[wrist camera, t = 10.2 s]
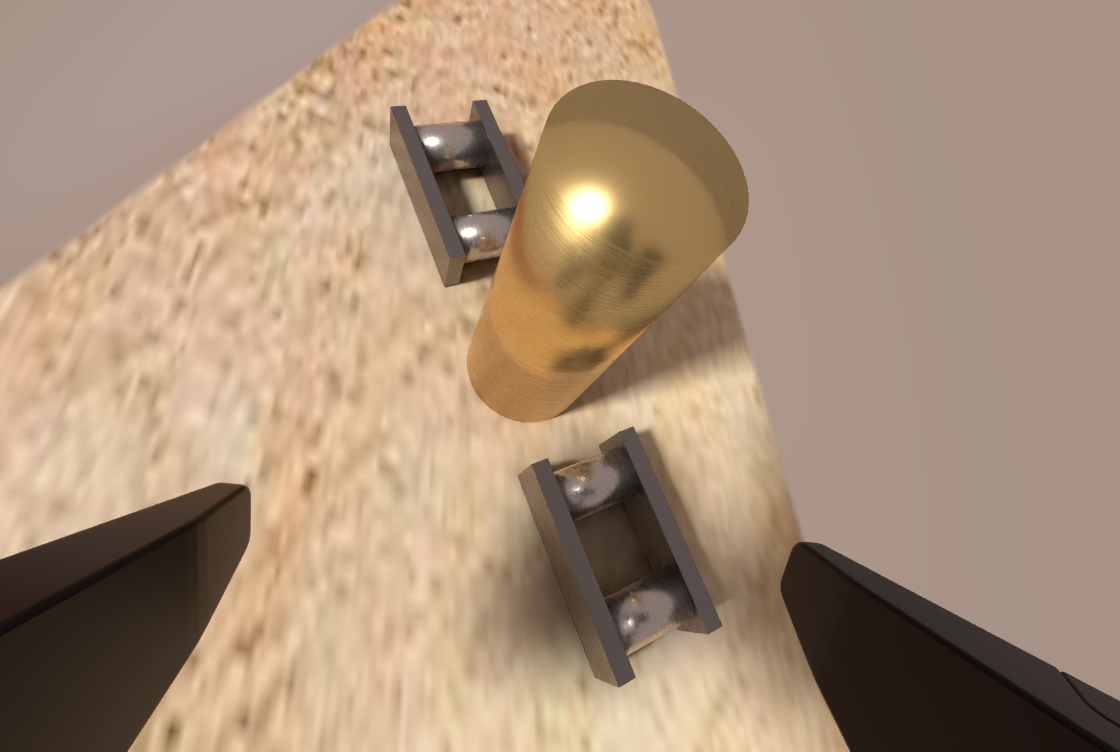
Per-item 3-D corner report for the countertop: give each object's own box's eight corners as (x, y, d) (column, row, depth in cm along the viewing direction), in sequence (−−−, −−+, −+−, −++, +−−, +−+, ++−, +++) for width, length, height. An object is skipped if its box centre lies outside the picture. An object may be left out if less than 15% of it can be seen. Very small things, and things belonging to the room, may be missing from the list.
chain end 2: (691, 622, 19) (722, 625, 17) (594, 677, 17) (618, 687, 16) (612, 440, 21) (633, 426, 19) (517, 476, 19) (531, 464, 17)
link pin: (542, 446, 20) (695, 306, 10) (442, 373, 20) (496, 158, 10) (602, 358, 22) (777, 171, 12) (511, 291, 22) (614, 48, 12)
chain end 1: (536, 267, 23) (548, 239, 21) (444, 286, 21) (449, 258, 19) (478, 136, 24) (486, 99, 22) (389, 144, 23) (390, 106, 21)
